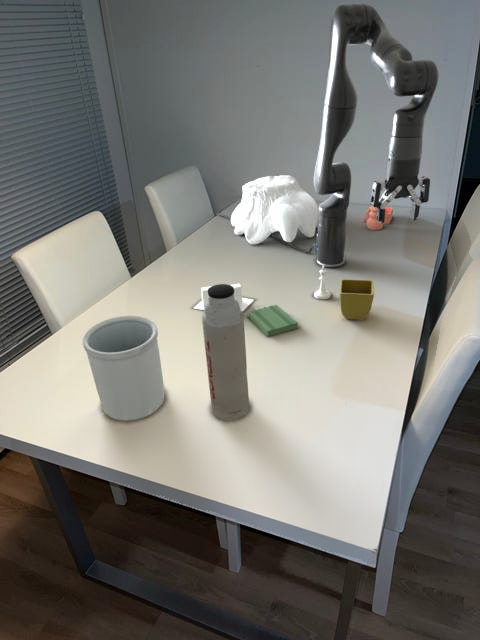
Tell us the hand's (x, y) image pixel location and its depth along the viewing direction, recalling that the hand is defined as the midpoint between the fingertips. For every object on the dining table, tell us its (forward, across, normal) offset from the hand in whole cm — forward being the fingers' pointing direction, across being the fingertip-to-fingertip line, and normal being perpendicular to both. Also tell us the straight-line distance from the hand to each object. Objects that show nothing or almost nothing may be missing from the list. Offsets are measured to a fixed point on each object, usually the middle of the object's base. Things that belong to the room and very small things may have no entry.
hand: (396, 220), depth 124 cm
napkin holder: (+26, +44, -15) cm, 54 cm away
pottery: (+27, -26, -71) cm, 80 cm away
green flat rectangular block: (+26, +33, 0) cm, 42 cm away
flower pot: (+26, +10, +2) cm, 28 cm away
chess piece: (+26, +15, -13) cm, 33 cm away
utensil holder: (+26, +69, +26) cm, 79 cm away
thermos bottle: (+26, +49, +33) cm, 64 cm away
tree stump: (+27, +16, -76) cm, 82 cm away
